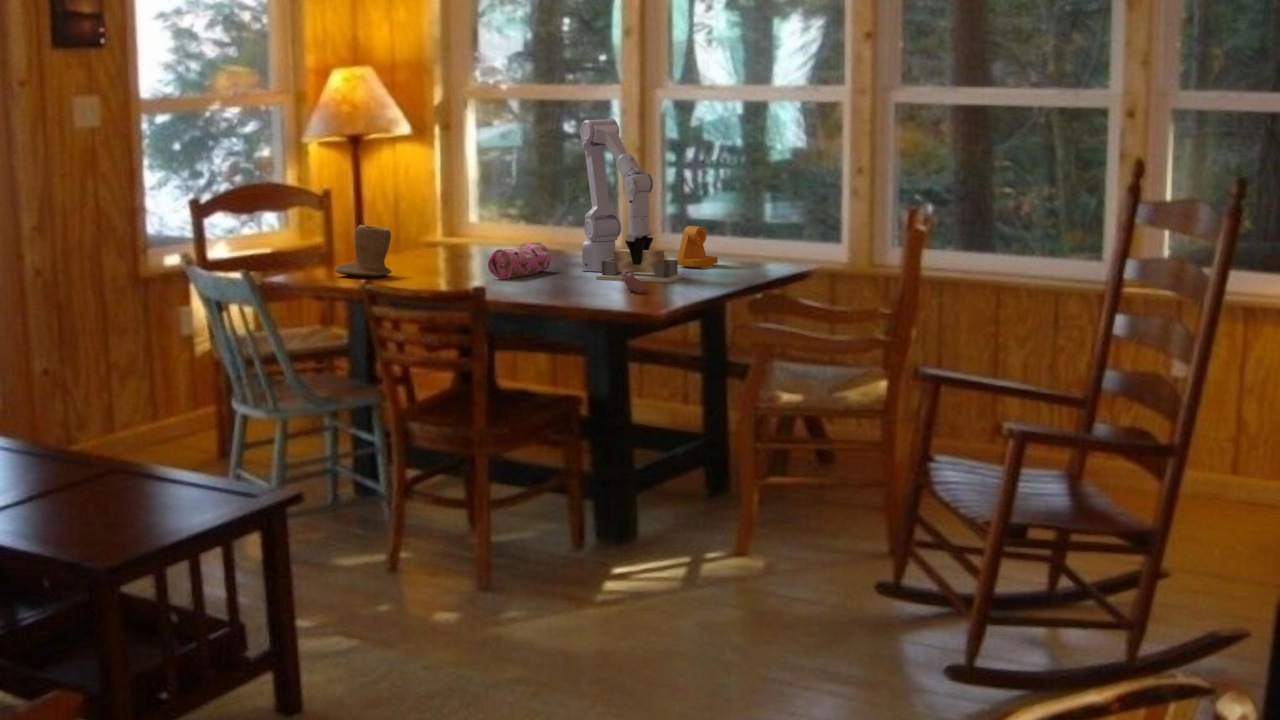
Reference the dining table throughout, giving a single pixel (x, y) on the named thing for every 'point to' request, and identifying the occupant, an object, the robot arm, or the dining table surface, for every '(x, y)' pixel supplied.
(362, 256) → the top hat
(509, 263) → the pencil case
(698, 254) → the bracket
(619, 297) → the dining table surface
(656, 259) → the wooden block
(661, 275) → the cradle
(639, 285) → the pink rounded piece
